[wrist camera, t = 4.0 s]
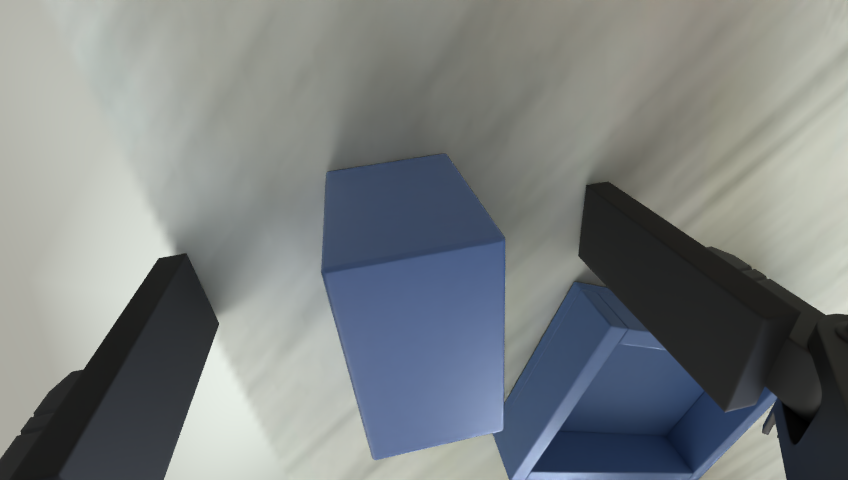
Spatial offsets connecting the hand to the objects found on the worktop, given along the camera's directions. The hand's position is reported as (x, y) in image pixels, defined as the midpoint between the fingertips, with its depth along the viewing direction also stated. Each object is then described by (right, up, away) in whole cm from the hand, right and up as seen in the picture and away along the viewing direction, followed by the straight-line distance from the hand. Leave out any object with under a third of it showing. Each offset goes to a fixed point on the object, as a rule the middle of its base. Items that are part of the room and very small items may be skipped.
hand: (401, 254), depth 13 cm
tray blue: (+10, -6, +6) cm, 13 cm away
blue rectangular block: (0, 0, 0) cm, 0 cm away
